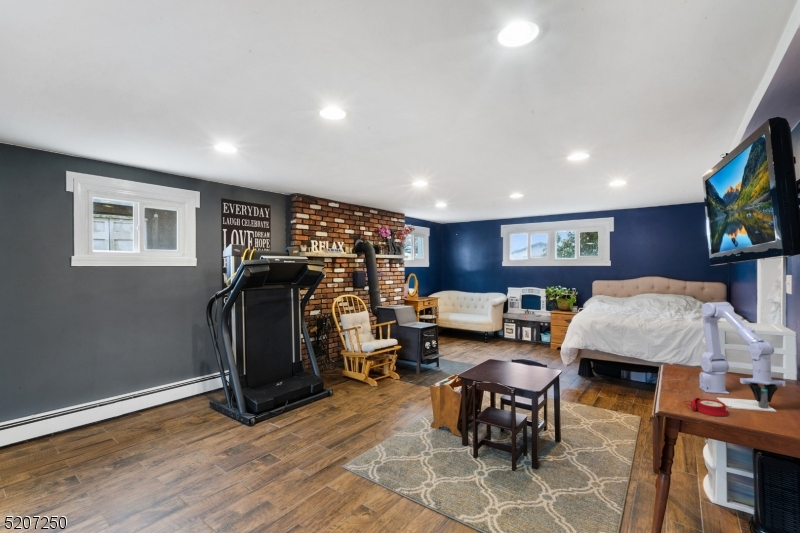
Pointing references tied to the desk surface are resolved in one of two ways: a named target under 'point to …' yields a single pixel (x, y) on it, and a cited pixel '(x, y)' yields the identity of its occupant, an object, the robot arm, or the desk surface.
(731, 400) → the notepad
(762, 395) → the marker
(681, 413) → the desk surface
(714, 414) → the alarm clock
